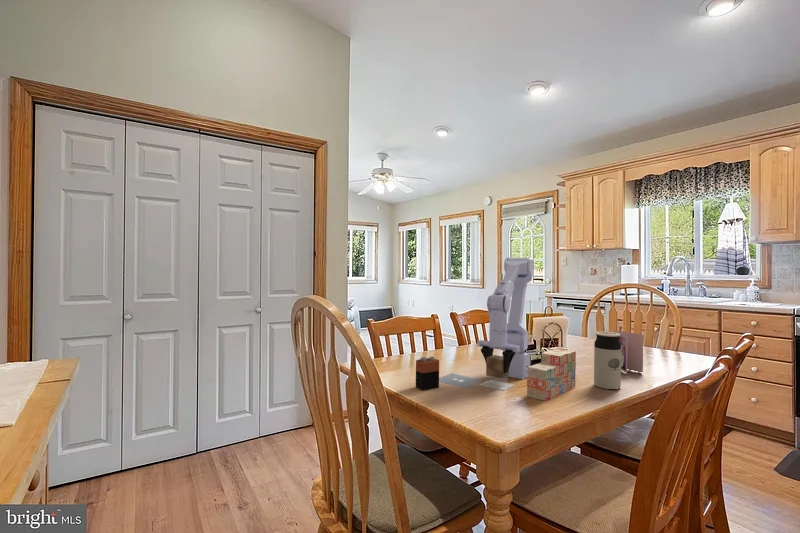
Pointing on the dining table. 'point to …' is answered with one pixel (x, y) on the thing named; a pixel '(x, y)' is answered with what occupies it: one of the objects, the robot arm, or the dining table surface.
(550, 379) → the stack of blocks
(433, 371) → the battery
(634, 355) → the greeting card
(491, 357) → the walnut block
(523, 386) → the dining table surface
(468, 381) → the blue-gray square plate
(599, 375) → the travel mug
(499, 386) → the rubber mat
